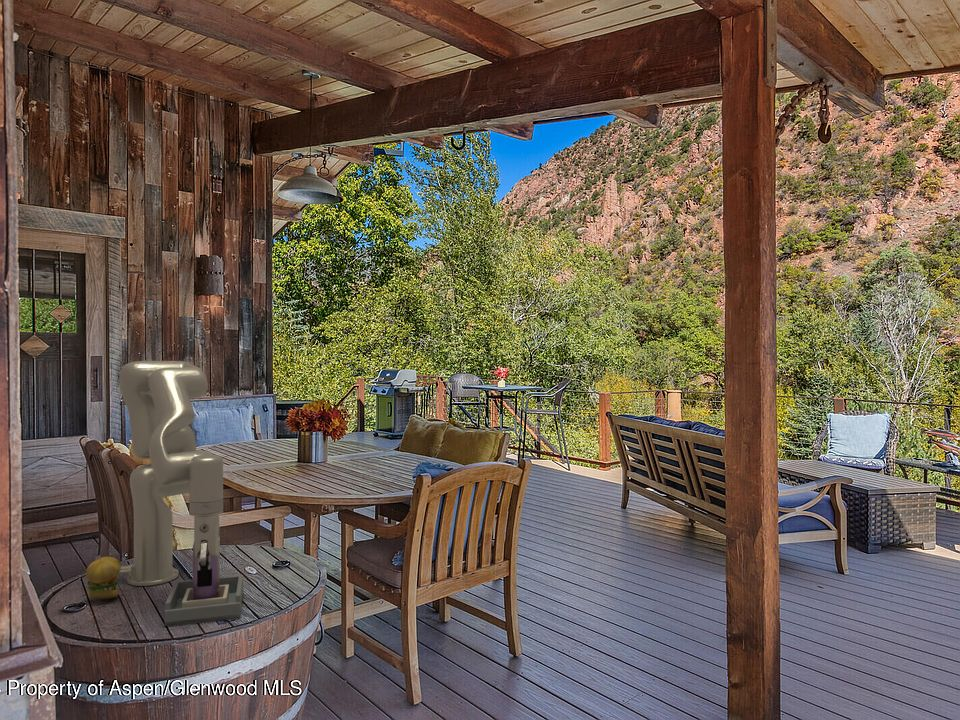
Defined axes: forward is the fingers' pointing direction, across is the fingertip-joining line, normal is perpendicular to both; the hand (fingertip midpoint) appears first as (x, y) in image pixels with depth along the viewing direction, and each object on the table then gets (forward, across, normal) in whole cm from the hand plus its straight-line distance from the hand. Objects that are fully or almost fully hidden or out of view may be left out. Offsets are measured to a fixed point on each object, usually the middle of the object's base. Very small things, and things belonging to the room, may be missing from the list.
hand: (206, 580), depth 154 cm
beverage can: (+5, 0, 0) cm, 5 cm away
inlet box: (+7, 0, 0) cm, 7 cm away
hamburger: (+7, +14, +25) cm, 29 cm away
